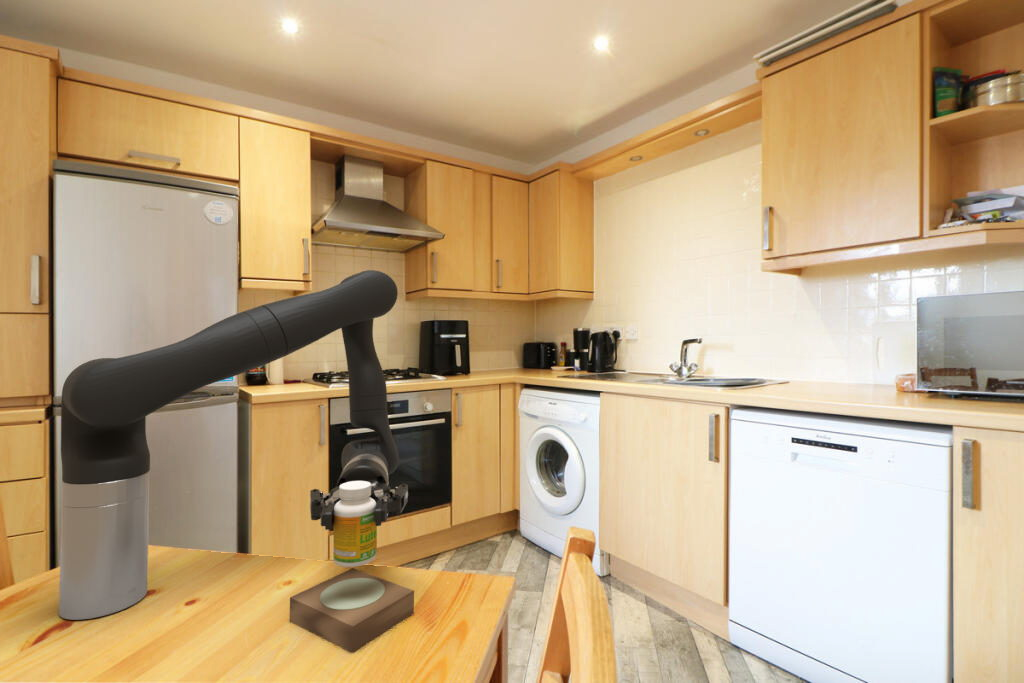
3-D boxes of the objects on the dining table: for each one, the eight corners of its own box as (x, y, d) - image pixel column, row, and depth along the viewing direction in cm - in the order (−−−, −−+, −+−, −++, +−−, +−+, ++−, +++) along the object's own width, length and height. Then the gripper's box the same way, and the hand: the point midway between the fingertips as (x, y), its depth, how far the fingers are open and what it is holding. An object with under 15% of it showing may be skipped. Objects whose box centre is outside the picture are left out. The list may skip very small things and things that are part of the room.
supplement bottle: (363, 570, 60) (363, 492, 60) (324, 566, 61) (324, 489, 61) (383, 551, 66) (383, 480, 66) (347, 548, 67) (347, 477, 67)
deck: (289, 620, 62) (290, 595, 62) (352, 588, 71) (353, 566, 71) (352, 652, 56) (352, 624, 56) (413, 613, 64) (414, 589, 64)
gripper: (316, 460, 76) (292, 494, 59) (409, 456, 79) (412, 486, 63) (315, 508, 76) (292, 555, 59) (409, 502, 79) (411, 545, 63)
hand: (353, 519), depth 61 cm, fingers closed on supplement bottle, 5 cm apart
